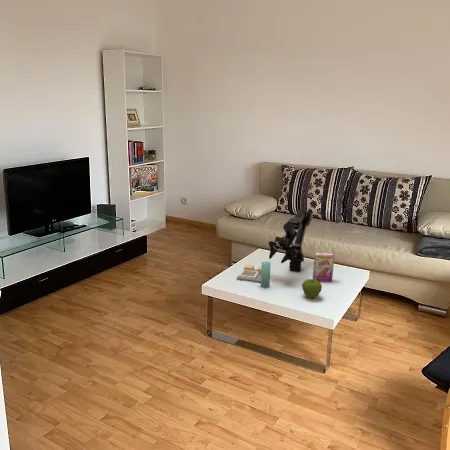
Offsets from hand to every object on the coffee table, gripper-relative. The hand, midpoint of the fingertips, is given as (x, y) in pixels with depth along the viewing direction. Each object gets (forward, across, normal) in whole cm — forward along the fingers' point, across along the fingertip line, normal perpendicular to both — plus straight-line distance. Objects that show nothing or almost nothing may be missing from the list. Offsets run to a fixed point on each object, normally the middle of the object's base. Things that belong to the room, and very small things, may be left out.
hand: (275, 260), depth 278 cm
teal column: (+15, 0, +4) cm, 16 cm away
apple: (+9, +27, +10) cm, 30 cm away
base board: (+11, -14, +8) cm, 20 cm away
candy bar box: (-7, +16, +27) cm, 32 cm away
